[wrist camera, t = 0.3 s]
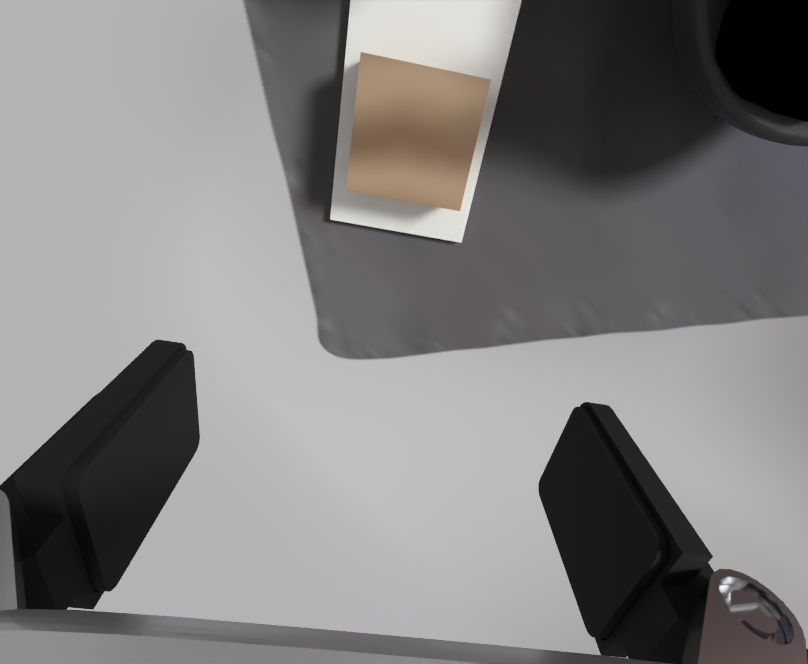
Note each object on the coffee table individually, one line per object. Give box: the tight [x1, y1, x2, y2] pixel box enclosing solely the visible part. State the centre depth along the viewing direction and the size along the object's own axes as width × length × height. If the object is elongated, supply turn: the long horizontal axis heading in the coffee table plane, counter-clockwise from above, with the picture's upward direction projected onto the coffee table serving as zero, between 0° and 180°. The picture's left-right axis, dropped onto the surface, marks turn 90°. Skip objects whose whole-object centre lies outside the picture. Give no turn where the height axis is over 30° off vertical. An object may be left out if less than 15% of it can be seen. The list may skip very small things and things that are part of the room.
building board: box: [330, 0, 522, 243], centre depth 34 cm, size 18×12×1 cm, turn 170°
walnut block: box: [346, 52, 491, 211], centre depth 32 cm, size 9×9×4 cm
